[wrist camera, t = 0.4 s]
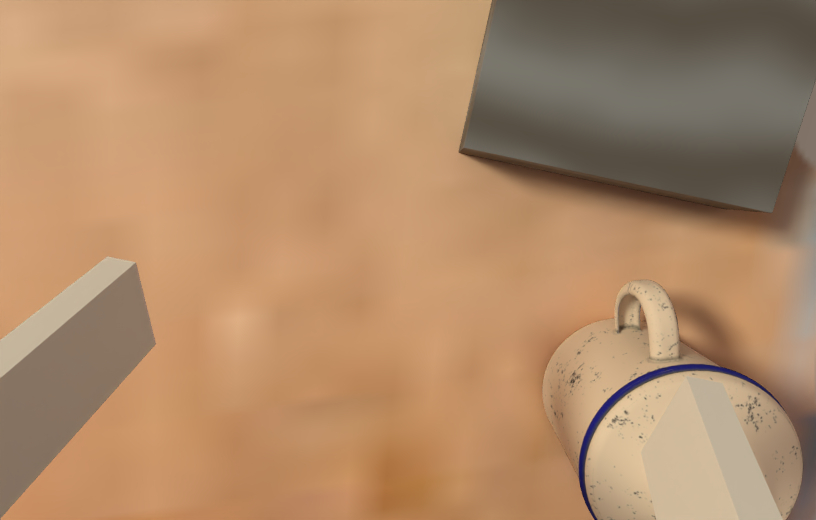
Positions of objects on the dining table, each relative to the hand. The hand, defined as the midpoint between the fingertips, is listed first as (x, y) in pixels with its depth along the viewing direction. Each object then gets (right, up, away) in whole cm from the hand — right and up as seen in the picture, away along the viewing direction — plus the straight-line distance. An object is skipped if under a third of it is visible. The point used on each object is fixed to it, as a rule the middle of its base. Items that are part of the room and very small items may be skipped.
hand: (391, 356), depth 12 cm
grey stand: (+12, +14, +14) cm, 24 cm away
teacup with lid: (+12, -4, +17) cm, 22 cm away
